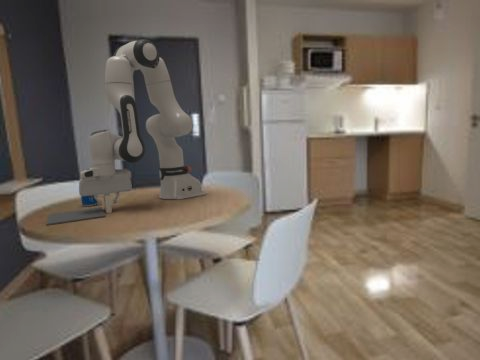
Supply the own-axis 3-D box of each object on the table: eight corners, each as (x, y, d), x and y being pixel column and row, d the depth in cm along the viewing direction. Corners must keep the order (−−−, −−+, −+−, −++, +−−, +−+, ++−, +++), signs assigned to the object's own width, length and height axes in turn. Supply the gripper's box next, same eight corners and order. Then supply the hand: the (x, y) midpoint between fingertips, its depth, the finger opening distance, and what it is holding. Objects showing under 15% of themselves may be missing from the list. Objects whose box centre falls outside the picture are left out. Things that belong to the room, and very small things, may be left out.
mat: (101, 208, 154) (101, 206, 154) (105, 217, 138) (105, 215, 138) (48, 215, 145) (48, 214, 145) (46, 225, 129) (46, 223, 129)
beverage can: (84, 207, 157) (81, 180, 156) (80, 205, 162) (77, 179, 161) (99, 204, 161) (96, 178, 160) (95, 202, 166) (92, 177, 165)
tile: (109, 208, 152) (108, 192, 151) (112, 212, 145) (110, 195, 144) (104, 209, 152) (103, 193, 150) (106, 213, 144) (104, 196, 143)
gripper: (129, 167, 153) (132, 199, 155) (76, 172, 144) (80, 206, 147) (131, 168, 147) (135, 202, 149) (77, 174, 139) (81, 209, 141)
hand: (107, 204), depth 148 cm, fingers open, 5 cm apart
